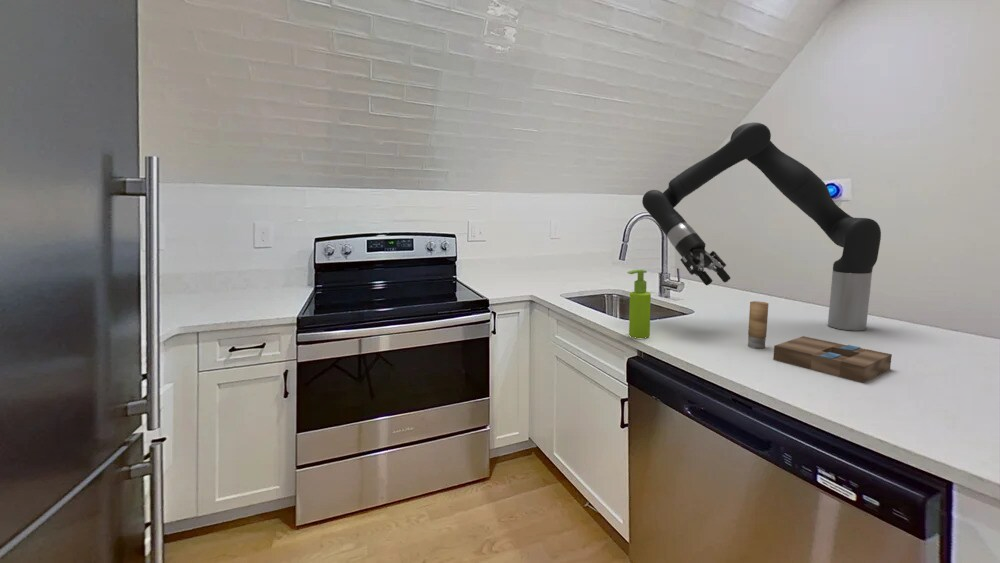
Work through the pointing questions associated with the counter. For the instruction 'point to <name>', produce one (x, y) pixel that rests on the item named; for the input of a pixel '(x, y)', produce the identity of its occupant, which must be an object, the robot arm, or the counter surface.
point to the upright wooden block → (757, 324)
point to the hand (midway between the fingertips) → (718, 282)
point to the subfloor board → (833, 358)
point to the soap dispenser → (639, 307)
